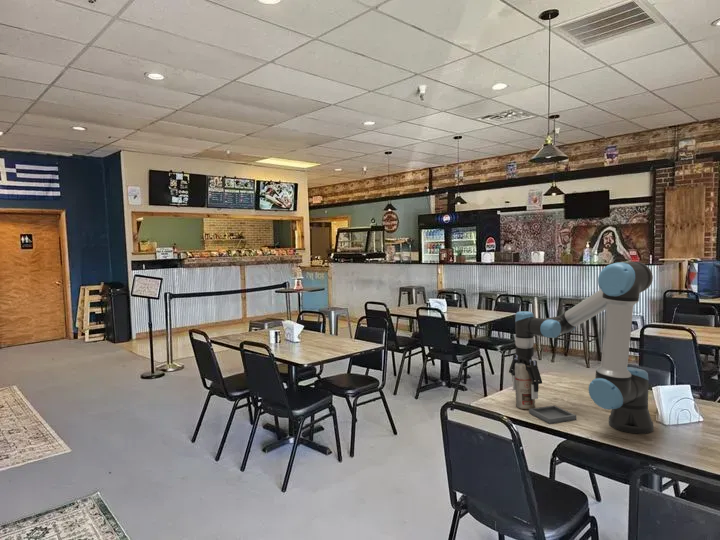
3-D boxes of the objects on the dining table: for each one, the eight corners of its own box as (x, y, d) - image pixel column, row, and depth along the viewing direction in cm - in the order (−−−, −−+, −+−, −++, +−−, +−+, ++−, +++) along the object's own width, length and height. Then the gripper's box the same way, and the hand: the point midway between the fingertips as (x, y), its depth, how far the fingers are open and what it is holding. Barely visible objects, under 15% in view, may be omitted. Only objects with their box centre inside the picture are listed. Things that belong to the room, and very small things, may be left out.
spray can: (513, 408, 204) (513, 363, 204) (516, 402, 212) (516, 359, 211) (533, 411, 200) (533, 365, 200) (536, 405, 208) (536, 361, 207)
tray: (576, 420, 189) (576, 415, 189) (549, 424, 185) (549, 419, 185) (554, 409, 202) (554, 405, 202) (528, 413, 198) (528, 408, 198)
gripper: (550, 351, 194) (551, 401, 195) (514, 340, 218) (515, 385, 219) (535, 353, 192) (535, 403, 193) (500, 342, 216) (501, 387, 217)
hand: (524, 394), depth 206 cm, fingers open, 13 cm apart
